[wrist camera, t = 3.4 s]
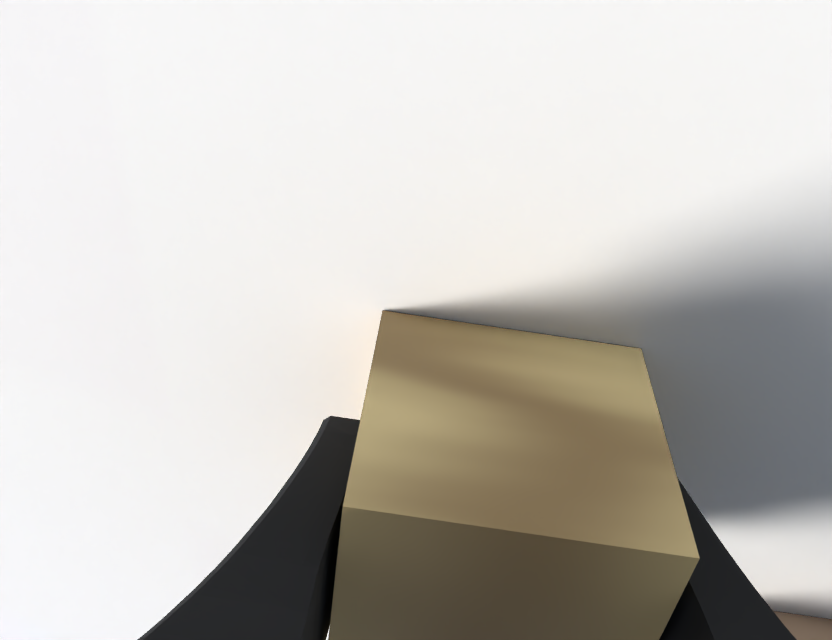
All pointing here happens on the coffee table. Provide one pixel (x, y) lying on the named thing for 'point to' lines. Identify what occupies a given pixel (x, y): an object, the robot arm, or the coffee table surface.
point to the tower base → (806, 626)
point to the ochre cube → (508, 492)
